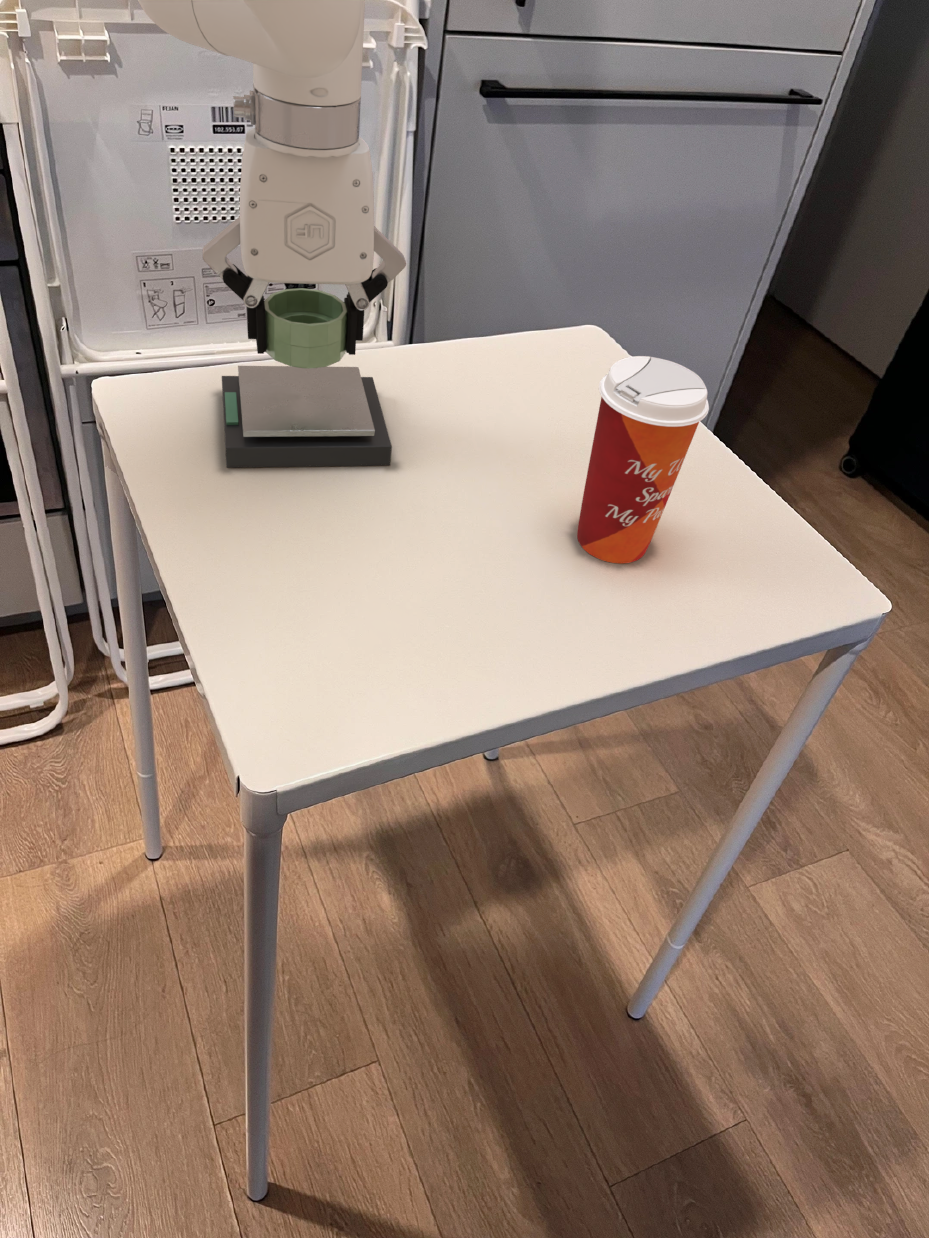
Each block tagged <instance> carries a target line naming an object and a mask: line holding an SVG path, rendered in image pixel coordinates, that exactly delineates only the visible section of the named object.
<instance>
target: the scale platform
mask: <svg viewBox="0 0 929 1238" xmlns="http://www.w3.org/2000/svg"><path fill="white" fill-rule="evenodd" d="M237 374H238V375H237V376H239V388H240V400H241V413H242V426H243V437H303V436H374V435H375V429H374V425H373V422H372V418H371V414H370V410H369V406H368V402H367V398H366V395H365V391H364V387H363V383H362V379H361V377H362V376H361V375H362V374H361V372H360V368H359V366H327V367H319V368H298V367H293V366H288V365H237Z"/></svg>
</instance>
